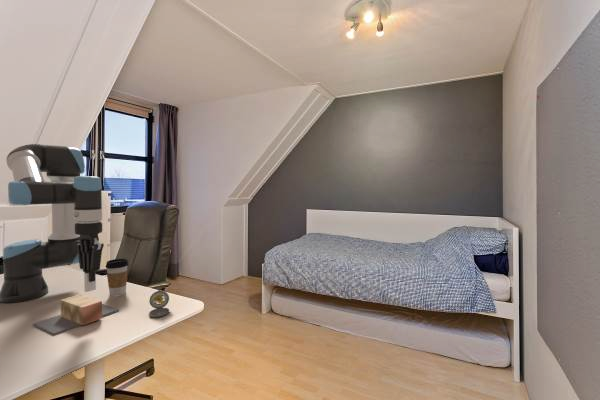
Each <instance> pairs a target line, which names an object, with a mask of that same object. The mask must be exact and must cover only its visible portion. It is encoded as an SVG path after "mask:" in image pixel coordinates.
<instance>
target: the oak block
mask: <svg viewBox="0 0 600 400" xmlns="http://www.w3.org/2000/svg"><path fill="white" fill-rule="evenodd" d="M102 304H103V301H102V300H101V299H96V298H93V297H90V296H87V295H83V294H77V295H74V296H73V295H72V296H69V297H66V298H63V299H60V315H61V317H63V318H66V319H68V320H71V321H73V322H76V323H78V324H81V325H80V326H85V325H88V324H90V323H93V322H95V321H99V320H101V319H103V317H102Z"/></svg>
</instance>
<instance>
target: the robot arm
mask: <svg viewBox="0 0 600 400" xmlns="http://www.w3.org/2000/svg"><path fill="white" fill-rule="evenodd" d="M6 165H7V166H8V168H9V170H10V171H12V176H13V181H10V182H9V183H8V185H7V193H8V194H7V195H8V202H9V204H10V205H14V206H15V205H17V206H18V205H19V206H20V205H21V206H29V205H30V206H33V205H35V206H36V205H51V229H52V231H51V232H52V233H51V234H50V235H49V236H47V241H44V242H43V241H42V239H39V238H38V239H37V238H36V239H29V240H23V241H18V242H13V243H10V244H8V245H6V246H5V247H4V248H3V249H2V251H3V255H2V260H3V283H2V286H1V288H0V303H2V304H10V303H11V304H13V303H20V302H25V301H29V300H33V299H37V298H40V297H43V296H45V295H47V294H48V293H49V285H48V284H47V281H46V280H45V278H44V276H43V270H45V269H50V268H51V269H52V268H57V267H64V266H71V265H76V264H78V265H79V269H80V270H82V272H84V273H83V275H84V277H83V279H84V280H83V283H84V292H86V293H88V292H92V291H95V290H97V288H96V287H97V285H96V284H97V283H96V282H97V281H96V275H97V274H96V272H97V271H100V269H101V262H102V253H103V248H104V243H101V242H100V239H99V234H101V233H102V232H103V222H102V221H103V207H102V205H103V204H102V202H103V201H102V199H103V198H102V194H103V193H102V188H103V186H102V179H101V178H100V177H99V176H89V175H87V176H83V175H82V174H85V172H86V171H85V170H86V168H85V167H86V165H85V160H84V156H83V153H82V151H81V149H79V148H77V147H71V146H63V145H49V144H40V143H30V144H24V145H20V146H18V147H16V148H14V149H13V150H11V151H10V152H9V153H8V155H7V156H6ZM42 173H46V177H47V178H48V179H49V180H50V181H45V179H44V176H43V174H42ZM81 175H82V176H81Z"/></svg>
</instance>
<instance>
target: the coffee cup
mask: <svg viewBox="0 0 600 400" xmlns="http://www.w3.org/2000/svg"><path fill="white" fill-rule="evenodd" d="M128 261H129V260H128V258H115V259H110V260H107V261H106V264H105V269H106V277H107V285H108V291H109V296H110V297H118V296H123V295H125V294H126V292H127V284H128V283H127V282H128V272H129V271H128V266H129V265H130V264H129V262H128Z"/></svg>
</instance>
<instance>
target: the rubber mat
mask: <svg viewBox="0 0 600 400" xmlns="http://www.w3.org/2000/svg"><path fill="white" fill-rule="evenodd" d="M119 311H120V309H119V308H116V307H113V306H110V305H108V304H105V303H102V318H104V317H107V316H109V315H112V314H115V313H116V312H119ZM32 326H34V327H36V328H39V329H40V330H41V331H42V330H43V331H44V332H46V333H48V334H50V335H52V336H56V335H58V334H61V333H64V332H66V331H69V330H72V329H74V328H77V327H80V326H82V325H81V324H78V323H76V322H73V321H71V320H68V319H66V318H63V317H61V314H58V315H55V316H52V317H49V318H46V319H43V320H39V321H36V322H33V323H32Z"/></svg>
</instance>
